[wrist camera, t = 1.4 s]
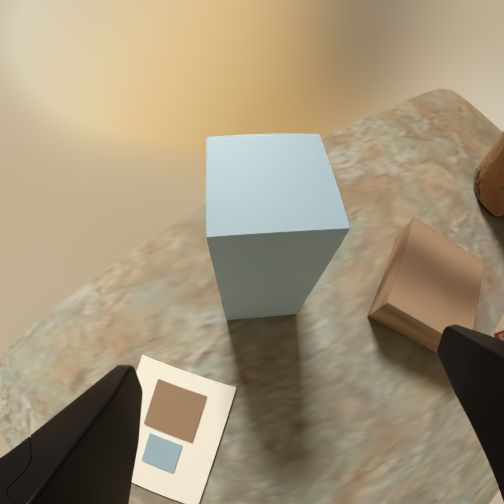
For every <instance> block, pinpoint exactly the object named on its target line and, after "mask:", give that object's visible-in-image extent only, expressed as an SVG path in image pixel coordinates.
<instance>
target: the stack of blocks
mask: <svg viewBox="0 0 504 504" xmlns="http://www.w3.org/2000/svg"><path fill="white" fill-rule="evenodd" d="M494 335H495V337H496V338H497V339H500V340H503V341H504V315H503V317H502V319H501V321H500V323H499V325H498V327H497V329H496V331H495V333H494Z"/></svg>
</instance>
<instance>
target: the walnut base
mask: <svg viewBox="0 0 504 504" xmlns="http://www.w3.org/2000/svg"><path fill="white" fill-rule="evenodd" d="M482 270H483V262H481V261H480V260H478V259H477V258H476V257H474V256H473V255H471V254H470V253H469V252H467V251H466V250H464V249H463V248H461V247H460V246H459V245H457V244H456V243H454V242H453V241H451V240H450V239H448V238H447V237H445V236H444V235H442V234H441V233H439V232H437V231H436V230H434V229H433V228H431V227H430V226H428V225H426V224H425V223H423V222H422V221H420V220H418V219H417V218H415V217H414V218H413V219H412V220H411V221H410V223H409V224H408V225H407V226H406V227H405V229H404V230H403V231H402V232H401V233H400V234H399V236H398V237H397V238H396V241H395V244H394V247H393V250H392V253H391V256H390V259H389V262H388V265H387V268H386V270H385V273H384V276H383V279H382V281H381V284H380V286H379V289H378V292H377V294H376V297H375V299H374V302H373V304H372V307H371V309H370V311H369V314H368V316H369V317H370V318H372V319H374V320H376V321H378V322H380V323H381V324H383V325H385V326H387V327H389V328H391V329H392V330H394V331H396V332H398V333H400V334H402V335H403V336H405V337H407V338H409V339H411V340H413V341H414V342H416V343H418V344H420V345H422V346H424V347H425V348H427V349H429V350H431V351H433V352H435V353H436V354H438V352H437V349H438V345H439V342H440V339H441V336H442V333H443V330H444V329H445V327H447V326H450V325H454V324H457V325H460V326H463V327H466V328H468V329H471V330H473V326H474V321H475V316H476V311H477V305H478V299H479V293H480V286H481V278H482Z"/></svg>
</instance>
